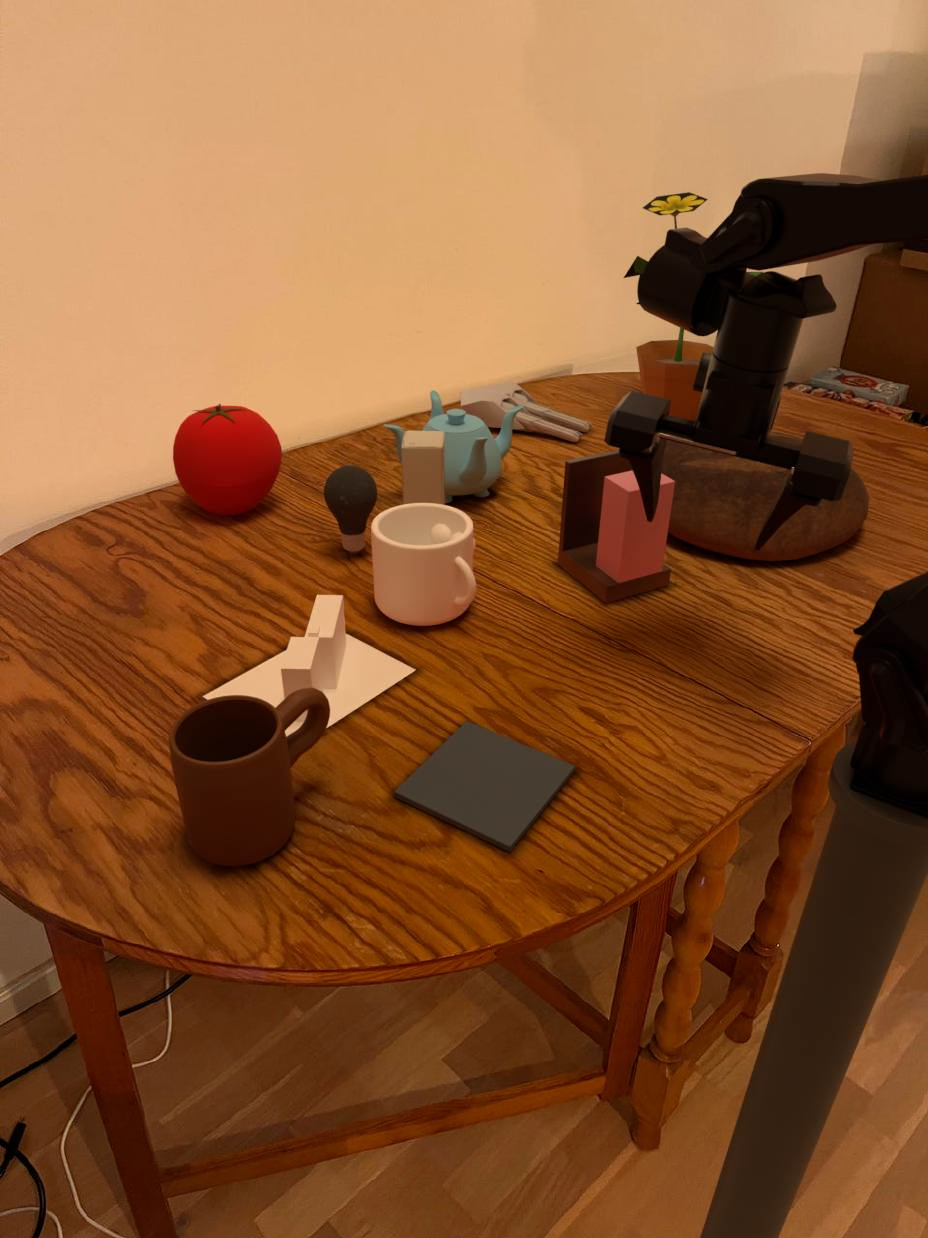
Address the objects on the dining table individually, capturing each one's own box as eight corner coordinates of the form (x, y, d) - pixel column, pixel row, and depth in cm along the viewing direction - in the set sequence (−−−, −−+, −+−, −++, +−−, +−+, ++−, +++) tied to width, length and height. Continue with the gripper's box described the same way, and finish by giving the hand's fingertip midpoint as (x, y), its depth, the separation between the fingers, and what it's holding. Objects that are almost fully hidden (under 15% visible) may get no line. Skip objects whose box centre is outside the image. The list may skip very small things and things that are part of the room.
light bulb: (324, 543, 102) (317, 459, 96) (373, 537, 103) (369, 454, 98) (333, 567, 97) (327, 480, 92) (385, 560, 99) (381, 474, 93)
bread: (900, 570, 98) (923, 495, 94) (647, 568, 98) (657, 493, 93) (813, 465, 122) (827, 401, 118) (610, 463, 122) (616, 399, 117)
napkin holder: (329, 624, 88) (324, 572, 85) (417, 669, 82) (416, 615, 79) (200, 697, 78) (191, 641, 75) (290, 754, 72) (283, 696, 69)
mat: (575, 771, 71) (575, 765, 70) (509, 853, 64) (510, 847, 63) (466, 726, 75) (466, 720, 75) (394, 797, 68) (393, 791, 68)
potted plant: (591, 402, 142) (610, 191, 126) (705, 396, 145) (737, 189, 129) (629, 445, 128) (656, 212, 111) (754, 437, 131) (798, 209, 114)
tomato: (178, 532, 104) (160, 426, 97) (184, 490, 113) (168, 390, 107) (288, 524, 106) (278, 419, 99) (285, 483, 115) (275, 385, 109)
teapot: (522, 479, 117) (526, 403, 112) (481, 521, 107) (483, 439, 102) (431, 462, 122) (431, 387, 116) (384, 500, 111) (381, 420, 106)
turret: (569, 462, 127) (577, 431, 125) (442, 418, 133) (447, 387, 130) (592, 439, 135) (600, 409, 132) (472, 398, 140) (477, 368, 138)
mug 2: (513, 613, 90) (517, 531, 85) (436, 654, 84) (436, 568, 79) (431, 569, 97) (430, 491, 92) (354, 604, 91) (349, 522, 86)
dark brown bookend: (669, 585, 95) (685, 478, 88) (605, 603, 92) (617, 494, 85) (617, 548, 102) (629, 447, 95) (557, 564, 98) (565, 460, 92)
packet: (662, 571, 93) (675, 481, 88) (618, 583, 91) (629, 491, 86) (638, 554, 96) (649, 466, 91) (595, 566, 94) (604, 476, 89)
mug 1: (303, 752, 72) (293, 654, 67) (366, 800, 68) (359, 699, 63) (167, 830, 65) (144, 727, 60) (227, 890, 60) (207, 784, 55)
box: (443, 560, 99) (443, 448, 92) (403, 559, 99) (400, 447, 92) (445, 537, 103) (445, 429, 96) (406, 537, 103) (404, 428, 96)
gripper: (885, 349, 72) (824, 519, 81) (655, 302, 77) (622, 467, 87) (877, 400, 64) (810, 582, 73) (620, 344, 69) (588, 521, 78)
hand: (703, 533), depth 78 cm, fingers open, 9 cm apart
